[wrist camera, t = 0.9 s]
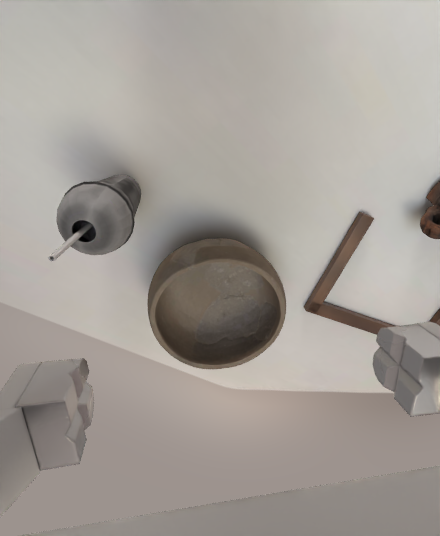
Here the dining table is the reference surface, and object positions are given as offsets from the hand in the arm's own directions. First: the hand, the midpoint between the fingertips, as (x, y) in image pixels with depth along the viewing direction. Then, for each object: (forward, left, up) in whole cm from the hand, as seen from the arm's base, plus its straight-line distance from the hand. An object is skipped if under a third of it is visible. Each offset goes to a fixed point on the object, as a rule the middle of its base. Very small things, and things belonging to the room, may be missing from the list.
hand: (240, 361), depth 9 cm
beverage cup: (+8, -10, -37) cm, 39 cm away
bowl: (+16, +6, -37) cm, 40 cm away
